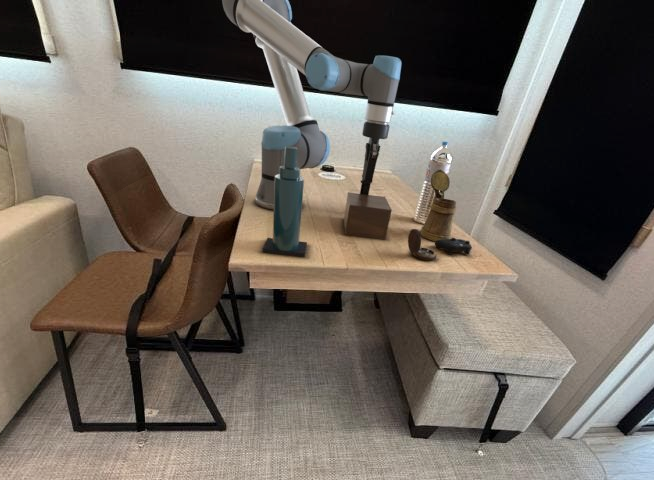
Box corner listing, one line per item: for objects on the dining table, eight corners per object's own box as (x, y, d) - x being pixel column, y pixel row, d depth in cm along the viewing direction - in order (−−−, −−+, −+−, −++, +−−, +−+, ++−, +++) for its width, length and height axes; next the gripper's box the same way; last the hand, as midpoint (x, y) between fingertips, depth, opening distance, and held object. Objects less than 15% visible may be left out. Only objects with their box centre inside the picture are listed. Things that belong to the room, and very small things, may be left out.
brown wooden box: (343, 219, 105) (347, 192, 100) (379, 223, 105) (385, 196, 101) (344, 234, 93) (349, 204, 89) (385, 239, 94) (391, 209, 89)
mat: (267, 241, 83) (267, 237, 83) (306, 245, 83) (307, 242, 83) (262, 252, 77) (262, 248, 77) (304, 257, 78) (304, 253, 77)
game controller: (461, 242, 96) (475, 234, 90) (464, 259, 95) (479, 252, 89) (432, 241, 94) (444, 233, 88) (435, 259, 93) (447, 252, 87)
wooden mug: (436, 227, 109) (454, 170, 99) (454, 243, 97) (476, 180, 88) (411, 225, 107) (426, 167, 98) (426, 241, 96) (446, 177, 86)
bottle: (274, 239, 82) (278, 143, 71) (299, 242, 82) (307, 147, 71) (270, 249, 77) (273, 147, 65) (297, 252, 77) (305, 151, 65)
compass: (440, 261, 84) (449, 235, 80) (411, 260, 83) (419, 233, 79) (426, 248, 91) (434, 223, 87) (400, 247, 89) (406, 222, 86)
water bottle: (428, 226, 108) (453, 144, 95) (409, 220, 112) (431, 140, 98) (436, 222, 113) (460, 143, 100) (417, 216, 117) (438, 139, 103)
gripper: (393, 126, 90) (375, 210, 103) (386, 122, 100) (371, 198, 113) (366, 122, 89) (352, 207, 102) (362, 118, 100) (350, 196, 113)
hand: (362, 202), depth 108 cm, fingers closed
